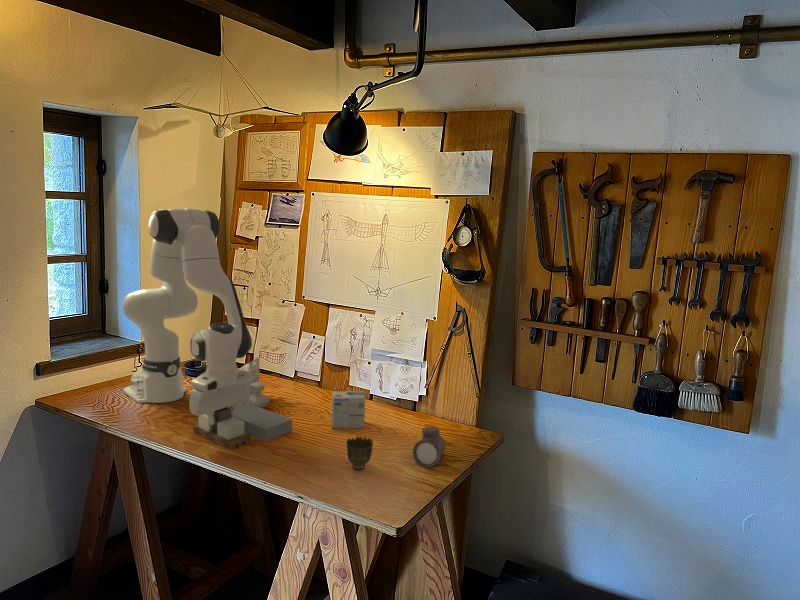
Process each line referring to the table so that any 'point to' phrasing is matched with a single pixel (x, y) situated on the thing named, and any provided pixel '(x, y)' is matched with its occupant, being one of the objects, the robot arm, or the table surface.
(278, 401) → the table surface
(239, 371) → the ink box
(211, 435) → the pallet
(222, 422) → the crate sage
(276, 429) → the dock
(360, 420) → the light bulb box
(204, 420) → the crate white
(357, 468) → the cup
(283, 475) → the table surface
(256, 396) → the stamp
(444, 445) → the pipe fitting
